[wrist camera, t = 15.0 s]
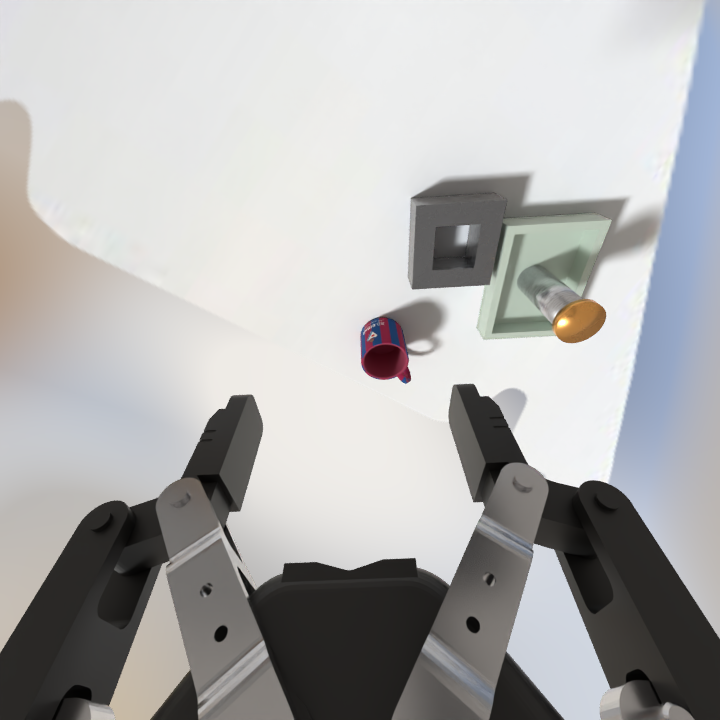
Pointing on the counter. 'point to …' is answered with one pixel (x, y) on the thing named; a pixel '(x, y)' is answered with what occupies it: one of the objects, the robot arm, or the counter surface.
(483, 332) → the tray
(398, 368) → the mug
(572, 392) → the counter surface
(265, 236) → the counter surface
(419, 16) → the counter surface
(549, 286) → the pin
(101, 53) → the counter surface
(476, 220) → the block
